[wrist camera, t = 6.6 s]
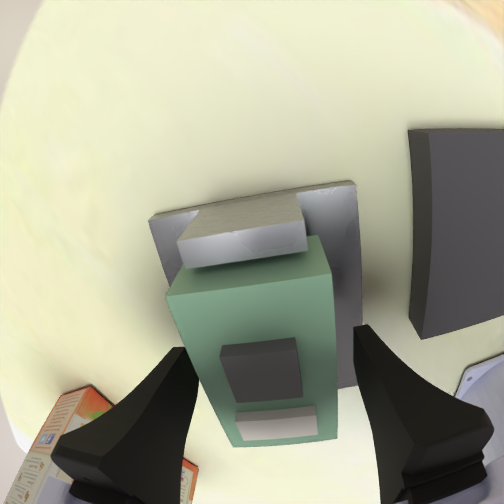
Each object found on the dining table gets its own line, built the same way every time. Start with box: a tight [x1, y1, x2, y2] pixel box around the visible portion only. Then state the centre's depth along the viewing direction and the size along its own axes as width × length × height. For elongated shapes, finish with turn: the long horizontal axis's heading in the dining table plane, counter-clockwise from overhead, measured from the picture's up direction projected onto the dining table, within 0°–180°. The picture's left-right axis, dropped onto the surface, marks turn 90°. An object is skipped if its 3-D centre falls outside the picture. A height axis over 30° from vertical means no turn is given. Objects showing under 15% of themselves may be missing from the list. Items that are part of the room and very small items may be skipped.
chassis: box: [148, 181, 362, 389], centre depth 14 cm, size 12×9×4 cm
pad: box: [408, 129, 504, 340], centre depth 12 cm, size 10×7×2 cm
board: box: [165, 235, 338, 447], centre depth 12 cm, size 9×5×4 cm, turn 11°
